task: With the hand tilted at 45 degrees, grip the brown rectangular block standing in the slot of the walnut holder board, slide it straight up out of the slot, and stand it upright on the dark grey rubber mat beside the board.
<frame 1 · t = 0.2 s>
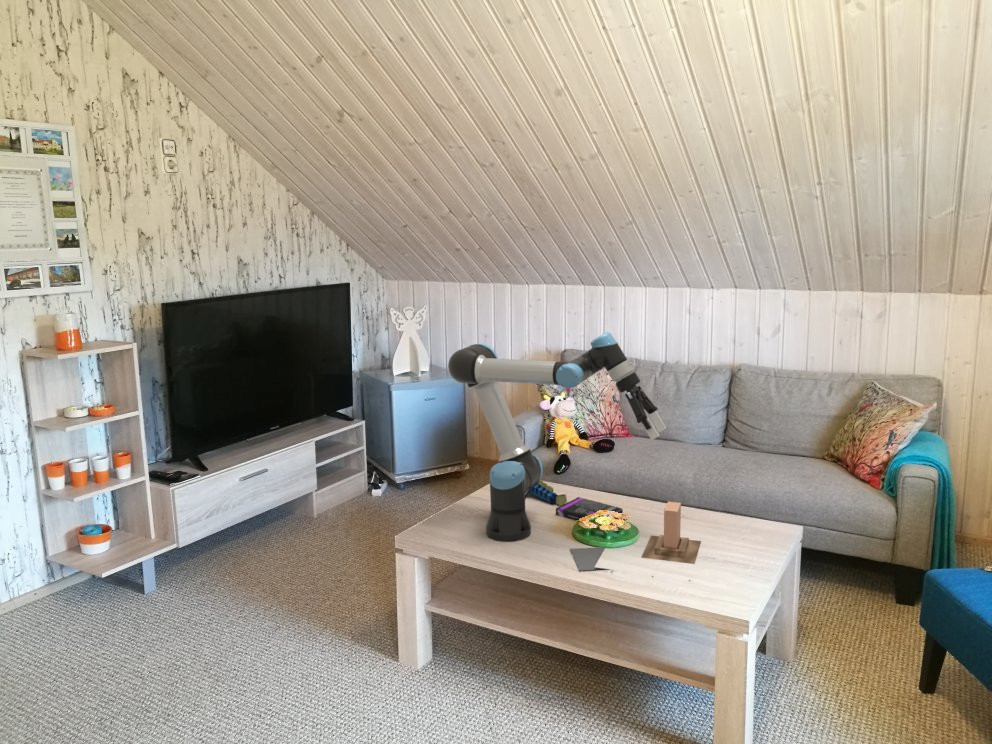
hand: (659, 434, 256), 35 cm above the table, tool tilted 35°, fingers open, 13 cm apart
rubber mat: (600, 559, 248), on the table
box: (589, 517, 285), on the table
slot holder: (671, 553, 251), on the table
toy: (543, 500, 302), on the table
brown rectangular block: (671, 549, 251), point 1 cm above the table, touching slot holder
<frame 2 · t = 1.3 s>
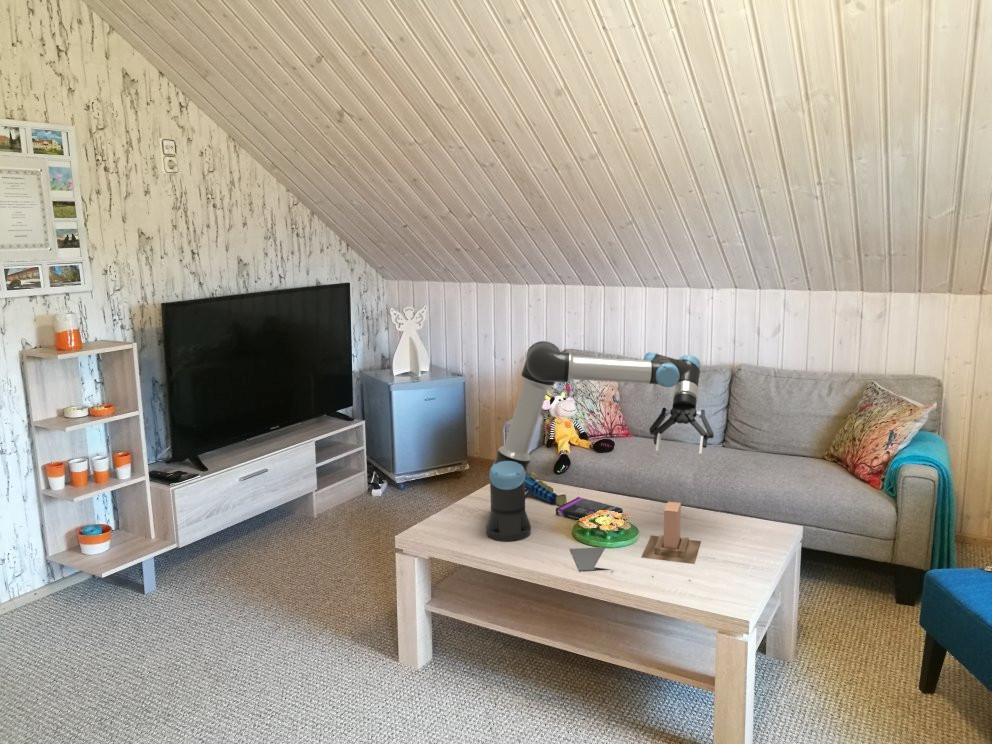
hand: (678, 454, 255), 29 cm above the table, tool tilted 45°, fingers open, 13 cm apart
nothing on the table moved.
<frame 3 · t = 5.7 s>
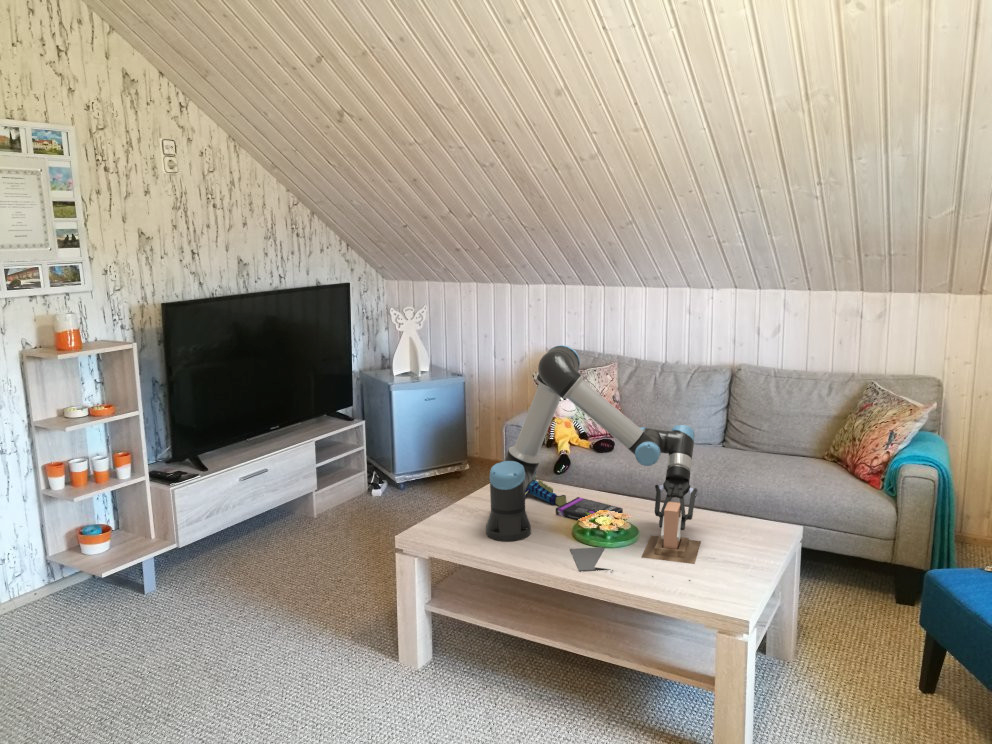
hand: (670, 537, 246), 7 cm above the table, tool tilted 45°, fingers closed on brown rectangular block, 4 cm apart
brown rectangular block: (671, 549, 251), point 1 cm above the table, touching gripper, slot holder
everything else where it was.
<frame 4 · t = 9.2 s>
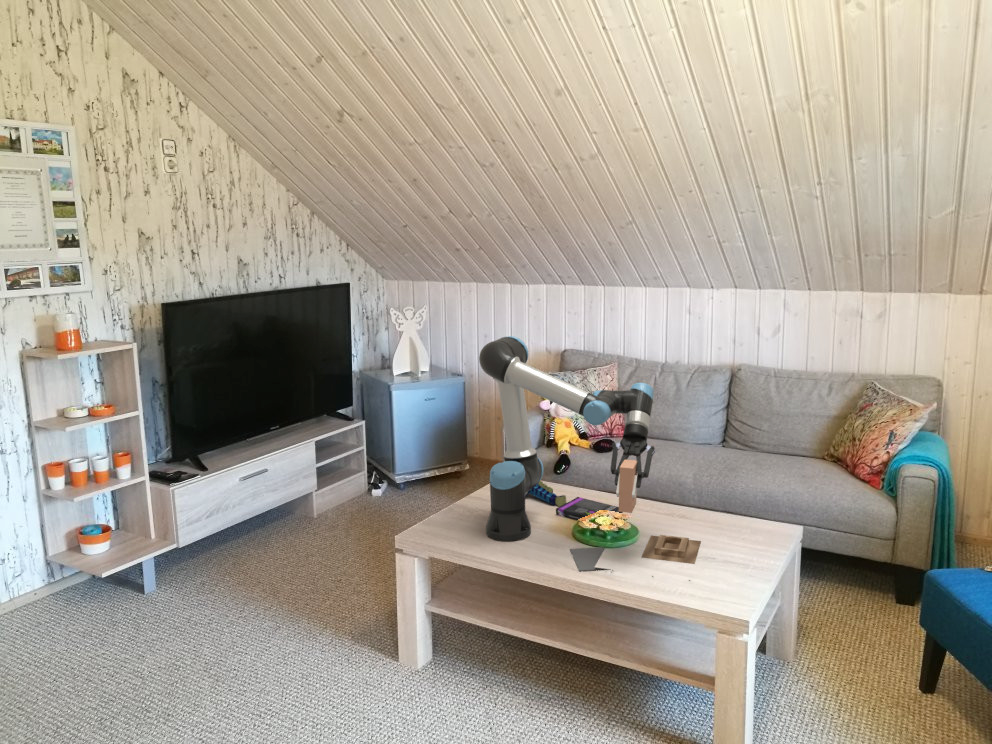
hand: (625, 495, 241), 22 cm above the table, tool tilted 45°, fingers closed on brown rectangular block, 4 cm apart
brown rectangular block: (627, 507, 245), point 17 cm above the table, touching gripper
everything else where it was.
when the fingers open (7 cm above the table, at t = 12.8 s): brown rectangular block stays where it is, resting on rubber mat.
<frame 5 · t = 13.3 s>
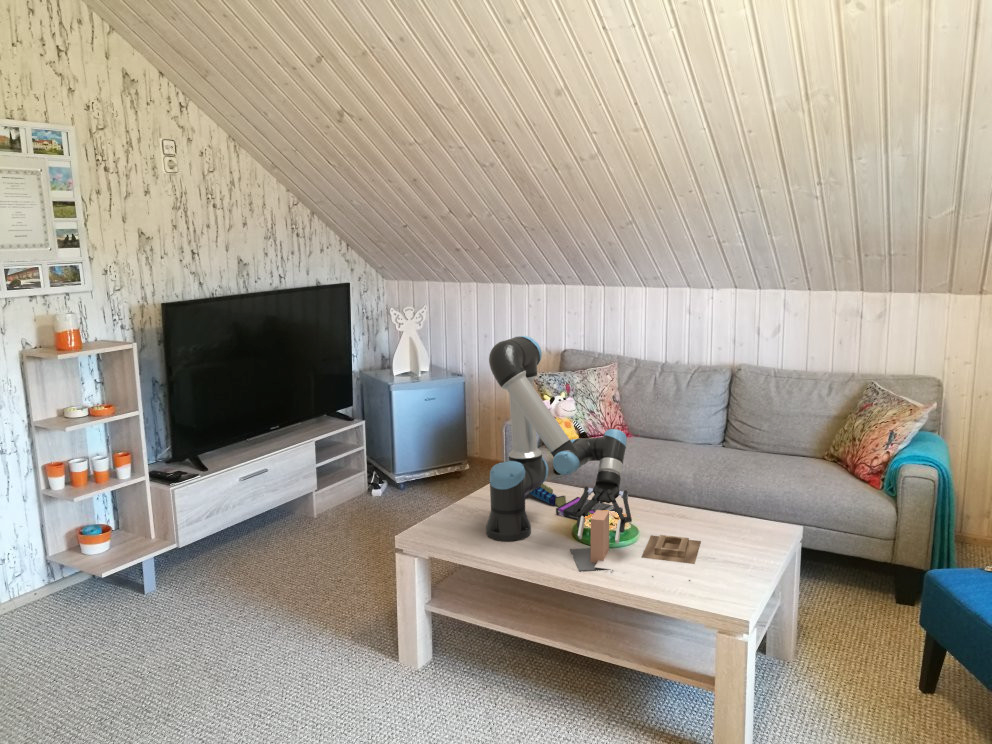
hand: (598, 539, 244), 8 cm above the table, tool tilted 45°, fingers open, 11 cm apart
brown rectangular block: (600, 557, 248), resting on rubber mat
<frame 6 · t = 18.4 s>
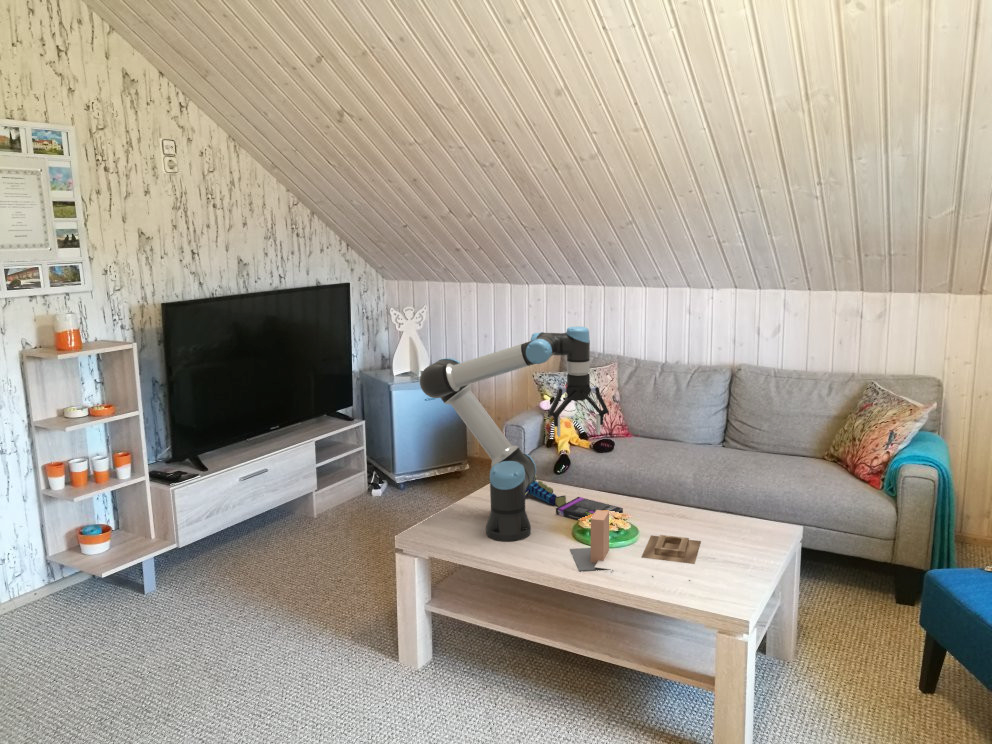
hand: (578, 434, 271), 32 cm above the table, tool pointing down, fingers open, 13 cm apart
at the end: brown rectangular block inside the target area on the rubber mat (0.0 cm from its centre), point 0.4 cm above the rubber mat's base; brown rectangular block tilted 0°; the gripper is holding nothing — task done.
